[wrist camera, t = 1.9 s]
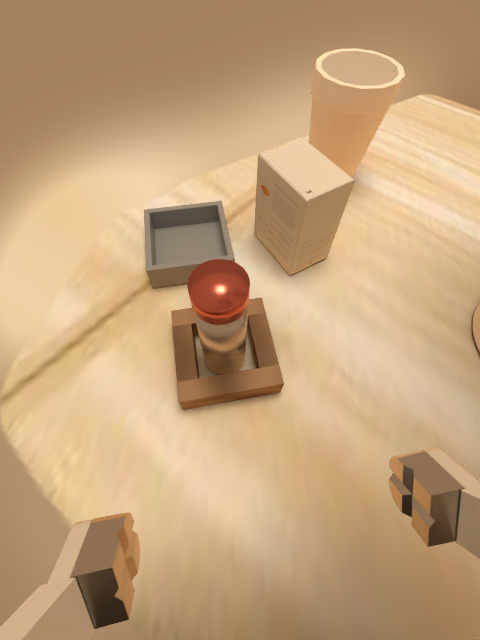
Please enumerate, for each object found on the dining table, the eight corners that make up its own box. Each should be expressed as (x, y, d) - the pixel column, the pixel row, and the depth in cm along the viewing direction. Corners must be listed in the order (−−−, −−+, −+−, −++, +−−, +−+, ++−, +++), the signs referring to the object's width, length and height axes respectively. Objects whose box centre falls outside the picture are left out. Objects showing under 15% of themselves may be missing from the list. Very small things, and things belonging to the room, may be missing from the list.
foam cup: (314, 149, 47) (339, 41, 36) (370, 171, 45) (416, 62, 33) (283, 182, 43) (300, 72, 32) (343, 207, 41) (384, 98, 29)
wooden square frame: (259, 310, 33) (261, 297, 30) (280, 392, 28) (284, 383, 26) (175, 323, 32) (171, 310, 30) (183, 409, 27) (178, 402, 25)
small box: (327, 259, 36) (358, 180, 27) (289, 277, 35) (307, 201, 26) (288, 218, 40) (304, 135, 31) (252, 233, 38) (257, 152, 29)
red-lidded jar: (241, 334, 31) (243, 255, 21) (248, 371, 29) (255, 304, 19) (202, 340, 31) (184, 263, 20) (207, 378, 29) (190, 313, 18)
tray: (222, 220, 39) (221, 200, 37) (234, 277, 35) (234, 259, 32) (150, 229, 38) (144, 209, 36) (153, 288, 34) (146, 270, 31)
